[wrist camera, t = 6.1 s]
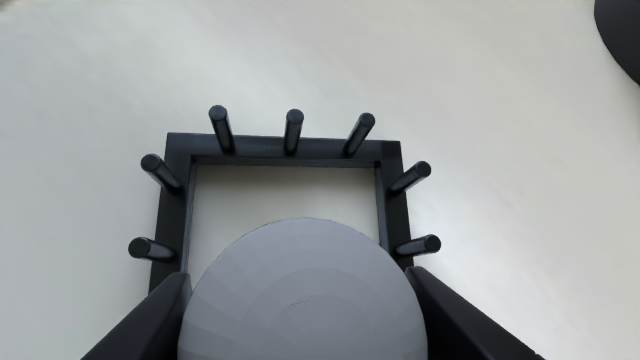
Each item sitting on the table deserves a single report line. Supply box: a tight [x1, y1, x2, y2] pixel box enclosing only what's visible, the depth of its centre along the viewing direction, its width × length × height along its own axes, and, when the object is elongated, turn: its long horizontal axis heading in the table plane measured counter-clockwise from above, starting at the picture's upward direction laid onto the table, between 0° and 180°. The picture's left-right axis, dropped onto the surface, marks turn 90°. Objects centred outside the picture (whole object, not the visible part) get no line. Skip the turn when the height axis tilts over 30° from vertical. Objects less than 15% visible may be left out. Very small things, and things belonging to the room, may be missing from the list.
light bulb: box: [177, 218, 428, 360], centre depth 10 cm, size 6×6×10 cm
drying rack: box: [128, 105, 441, 295], centre depth 13 cm, size 13×12×4 cm
